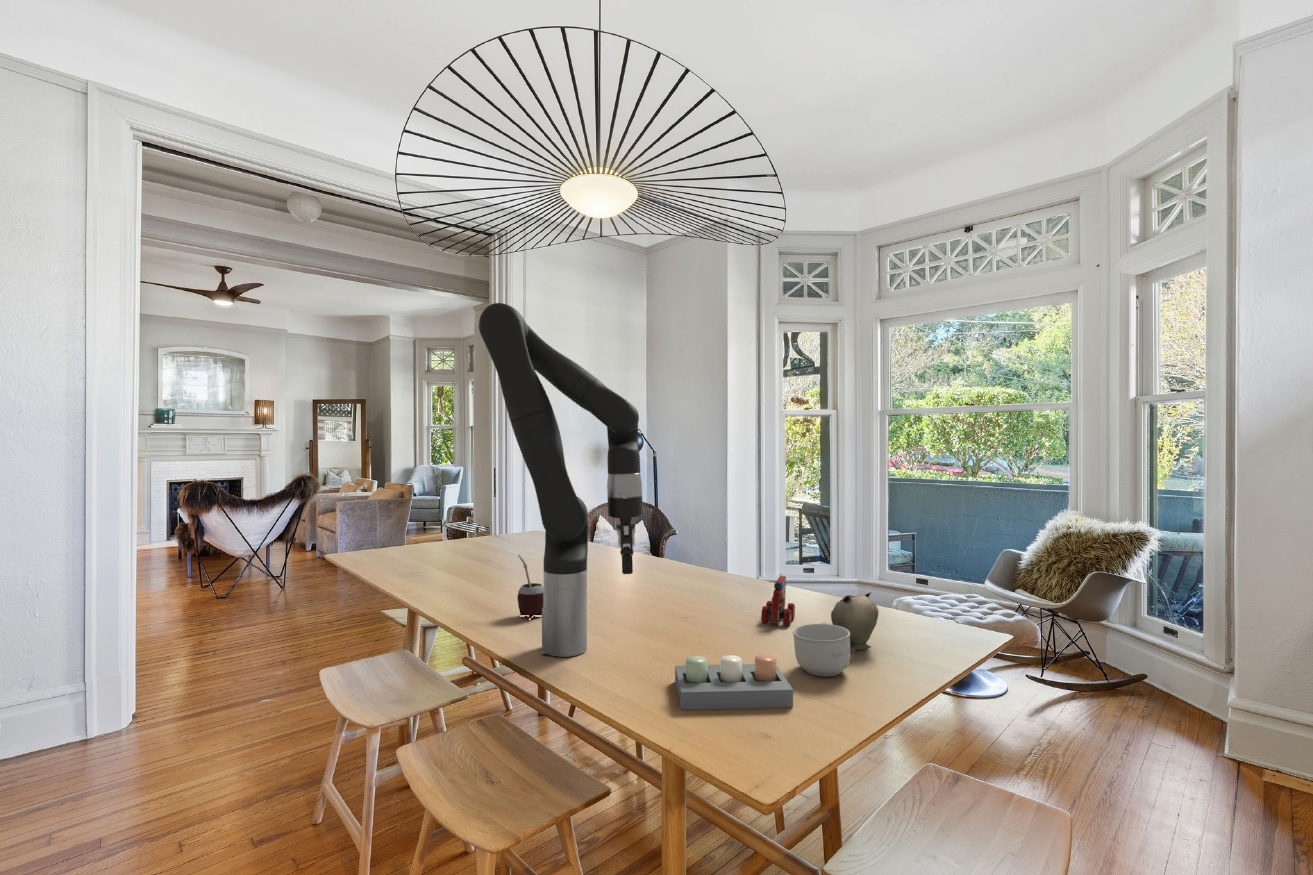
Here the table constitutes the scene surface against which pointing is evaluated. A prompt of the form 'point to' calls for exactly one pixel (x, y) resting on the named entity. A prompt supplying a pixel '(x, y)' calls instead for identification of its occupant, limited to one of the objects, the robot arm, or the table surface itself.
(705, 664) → the sage button
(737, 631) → the table surface
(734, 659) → the cream button
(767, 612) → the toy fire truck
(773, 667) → the terracotta button
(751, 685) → the console
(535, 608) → the mate gourd
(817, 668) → the teacup
